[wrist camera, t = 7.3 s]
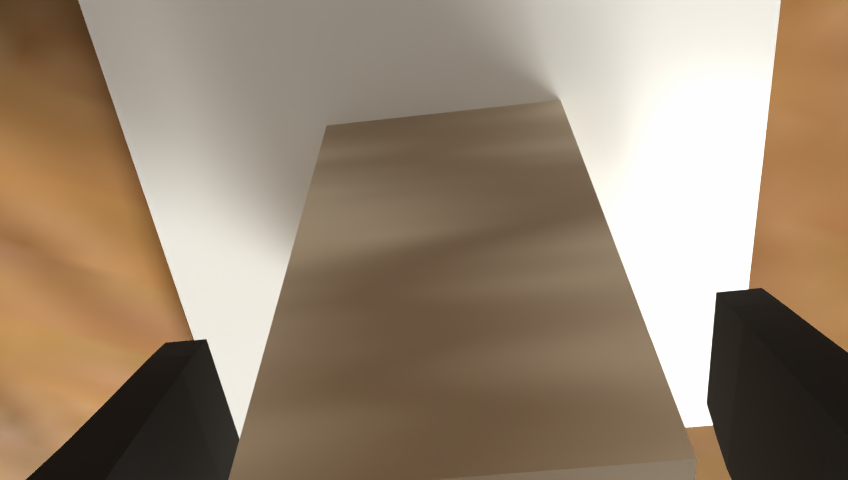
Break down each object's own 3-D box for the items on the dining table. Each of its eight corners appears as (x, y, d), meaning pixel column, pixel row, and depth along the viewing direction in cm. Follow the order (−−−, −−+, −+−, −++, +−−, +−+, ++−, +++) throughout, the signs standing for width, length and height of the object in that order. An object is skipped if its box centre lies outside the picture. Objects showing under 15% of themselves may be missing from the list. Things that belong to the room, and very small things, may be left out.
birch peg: (560, 99, 13) (696, 458, 7) (566, 293, 15) (674, 719, 9) (326, 125, 14) (223, 496, 7) (363, 312, 16) (313, 739, 9)
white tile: (775, -136, 12) (795, -129, 12) (721, 398, 18) (733, 423, 17) (84, -49, 13) (64, -38, 12) (243, 437, 19) (236, 463, 18)
